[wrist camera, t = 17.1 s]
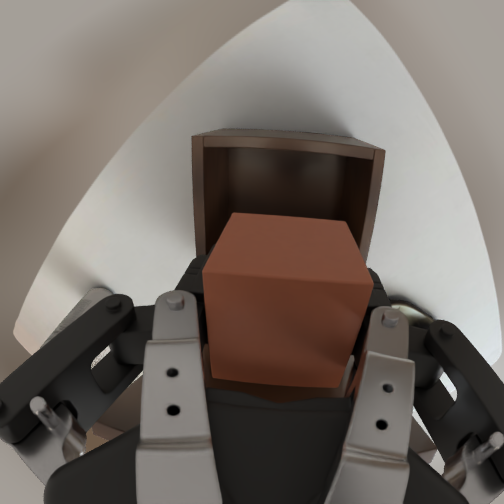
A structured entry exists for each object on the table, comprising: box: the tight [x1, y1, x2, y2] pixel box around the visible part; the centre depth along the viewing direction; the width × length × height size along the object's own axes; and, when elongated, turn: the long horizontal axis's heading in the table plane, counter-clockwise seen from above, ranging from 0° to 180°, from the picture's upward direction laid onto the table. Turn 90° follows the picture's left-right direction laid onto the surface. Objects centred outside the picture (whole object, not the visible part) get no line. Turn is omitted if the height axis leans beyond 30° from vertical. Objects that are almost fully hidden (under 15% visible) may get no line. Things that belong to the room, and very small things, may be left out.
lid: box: [92, 344, 437, 464], centre depth 15 cm, size 16×13×5 cm
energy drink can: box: [40, 288, 114, 348], centre depth 31 cm, size 6×6×15 cm
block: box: [202, 213, 374, 388], centre depth 10 cm, size 5×5×5 cm
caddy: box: [192, 129, 385, 264], centre depth 24 cm, size 16×13×9 cm
